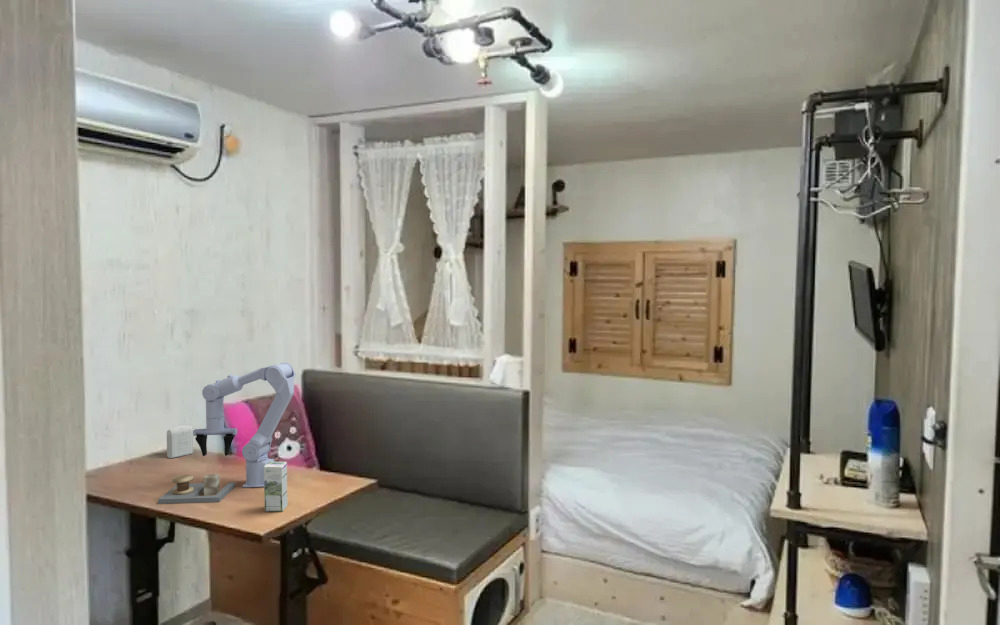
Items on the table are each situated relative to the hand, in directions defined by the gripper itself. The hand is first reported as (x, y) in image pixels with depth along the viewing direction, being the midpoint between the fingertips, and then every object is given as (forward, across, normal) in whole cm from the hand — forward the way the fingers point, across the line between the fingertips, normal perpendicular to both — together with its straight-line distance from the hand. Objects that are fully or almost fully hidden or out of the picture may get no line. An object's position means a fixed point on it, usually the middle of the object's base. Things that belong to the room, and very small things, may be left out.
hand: (215, 455), depth 230 cm
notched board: (+10, +2, +13) cm, 16 cm away
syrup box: (+10, -28, +29) cm, 42 cm away
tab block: (+10, -2, +12) cm, 16 cm away
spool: (+8, +6, +14) cm, 17 cm away
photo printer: (+10, +27, -38) cm, 48 cm away
